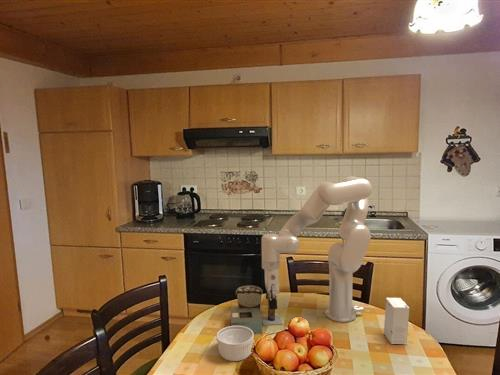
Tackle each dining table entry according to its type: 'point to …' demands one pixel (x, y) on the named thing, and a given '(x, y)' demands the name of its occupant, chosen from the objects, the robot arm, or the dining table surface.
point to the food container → (249, 297)
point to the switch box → (247, 319)
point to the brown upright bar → (271, 311)
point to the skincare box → (396, 320)
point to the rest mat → (267, 322)
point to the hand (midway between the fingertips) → (271, 303)
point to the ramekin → (235, 342)
